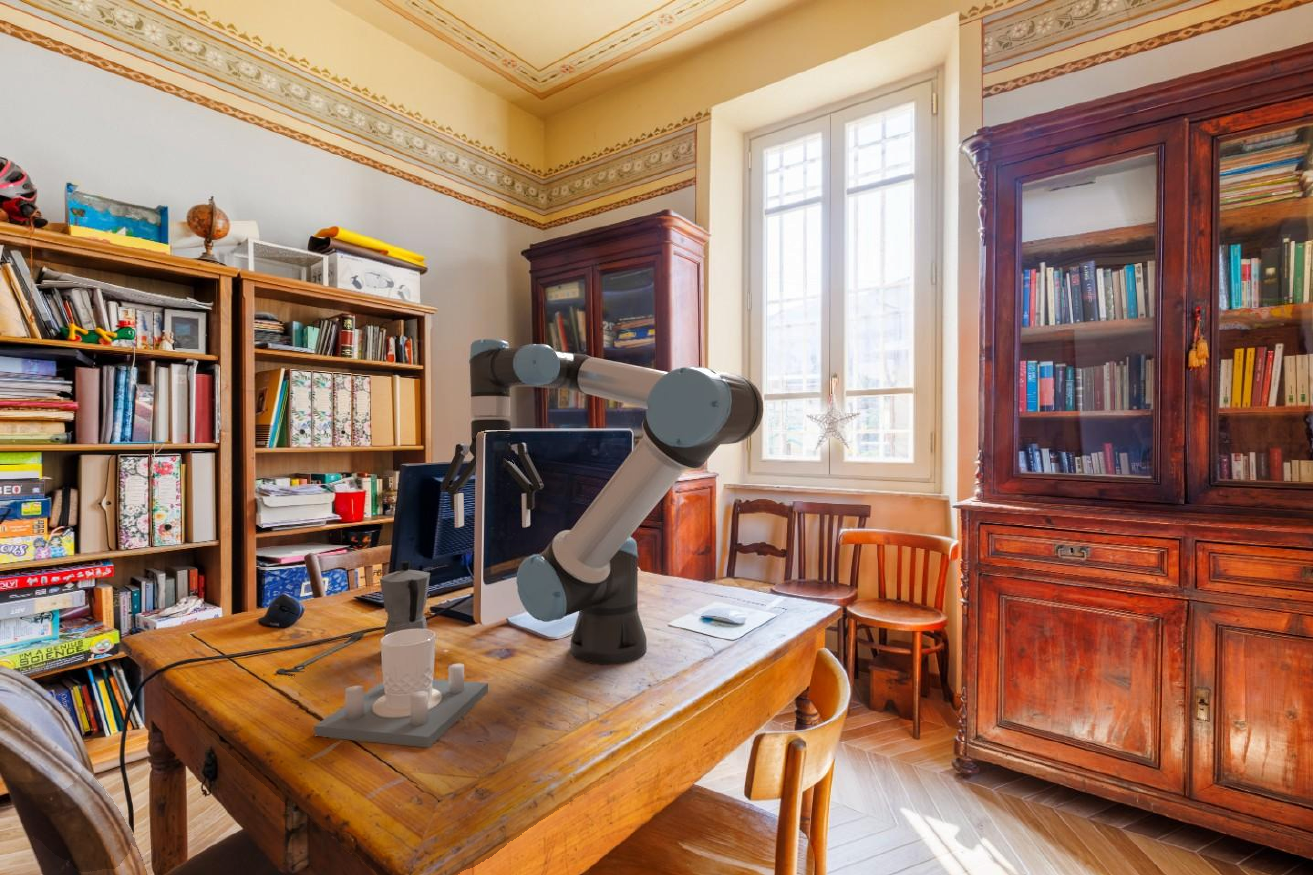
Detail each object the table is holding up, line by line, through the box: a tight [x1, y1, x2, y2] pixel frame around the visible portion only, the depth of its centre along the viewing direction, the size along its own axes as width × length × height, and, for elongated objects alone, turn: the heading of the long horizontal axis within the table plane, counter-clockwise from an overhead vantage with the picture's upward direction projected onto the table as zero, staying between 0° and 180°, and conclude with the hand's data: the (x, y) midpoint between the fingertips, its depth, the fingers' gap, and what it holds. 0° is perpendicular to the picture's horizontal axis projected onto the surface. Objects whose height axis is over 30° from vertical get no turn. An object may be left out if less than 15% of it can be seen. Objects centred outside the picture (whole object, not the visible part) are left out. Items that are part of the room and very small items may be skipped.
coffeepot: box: [379, 560, 431, 637], centre depth 118 cm, size 15×9×18 cm, turn 33°
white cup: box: [380, 628, 436, 710], centre depth 93 cm, size 8×8×10 cm
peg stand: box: [313, 663, 489, 748], centre depth 93 cm, size 18×18×6 cm
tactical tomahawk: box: [275, 631, 365, 677], centre depth 118 cm, size 21×7×1 cm, turn 166°
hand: (492, 526), depth 118 cm, fingers open, 13 cm apart
